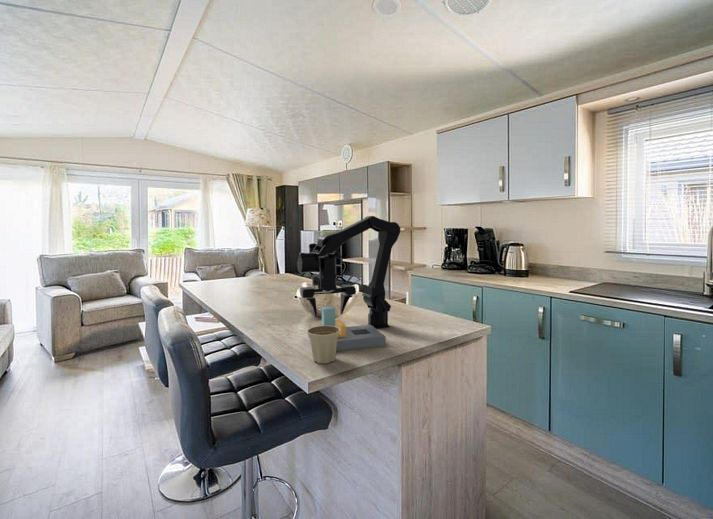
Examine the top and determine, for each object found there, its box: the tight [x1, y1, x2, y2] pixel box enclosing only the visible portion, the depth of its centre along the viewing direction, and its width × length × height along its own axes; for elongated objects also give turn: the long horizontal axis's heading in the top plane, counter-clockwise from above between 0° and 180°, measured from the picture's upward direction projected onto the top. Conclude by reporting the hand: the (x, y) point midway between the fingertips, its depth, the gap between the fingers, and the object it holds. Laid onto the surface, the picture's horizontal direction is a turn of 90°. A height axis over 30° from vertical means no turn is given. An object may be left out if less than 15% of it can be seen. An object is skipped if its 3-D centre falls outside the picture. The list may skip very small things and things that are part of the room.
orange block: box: [335, 319, 347, 338], centre depth 116 cm, size 8×8×4 cm
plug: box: [320, 306, 336, 326], centre depth 128 cm, size 4×4×9 cm
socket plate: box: [336, 324, 386, 352], centre depth 118 cm, size 20×14×3 cm
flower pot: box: [306, 325, 340, 364], centre depth 102 cm, size 9×9×9 cm
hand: (328, 315), depth 128 cm, fingers open, 9 cm apart
